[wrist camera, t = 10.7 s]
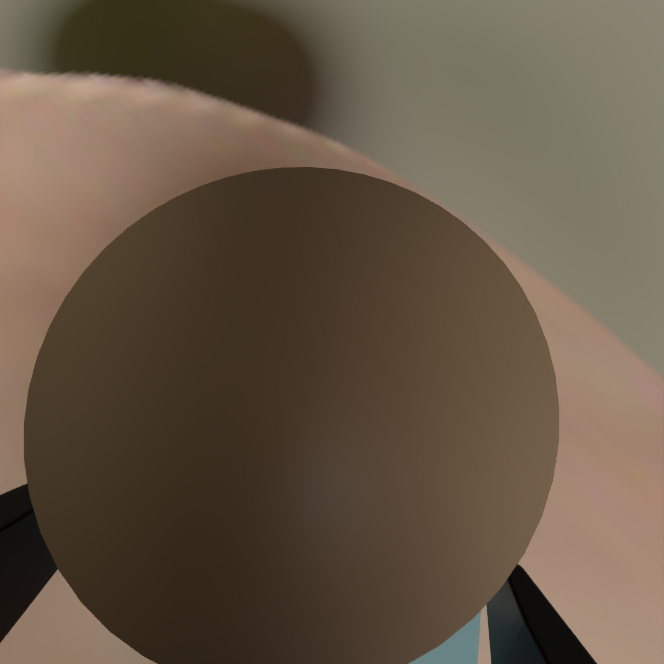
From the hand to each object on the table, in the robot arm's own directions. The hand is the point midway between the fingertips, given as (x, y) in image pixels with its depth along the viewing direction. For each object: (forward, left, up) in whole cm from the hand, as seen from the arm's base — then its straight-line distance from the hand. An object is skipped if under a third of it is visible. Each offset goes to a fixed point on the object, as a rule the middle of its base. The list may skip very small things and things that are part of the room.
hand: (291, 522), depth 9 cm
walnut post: (+2, +1, -8) cm, 8 cm away
